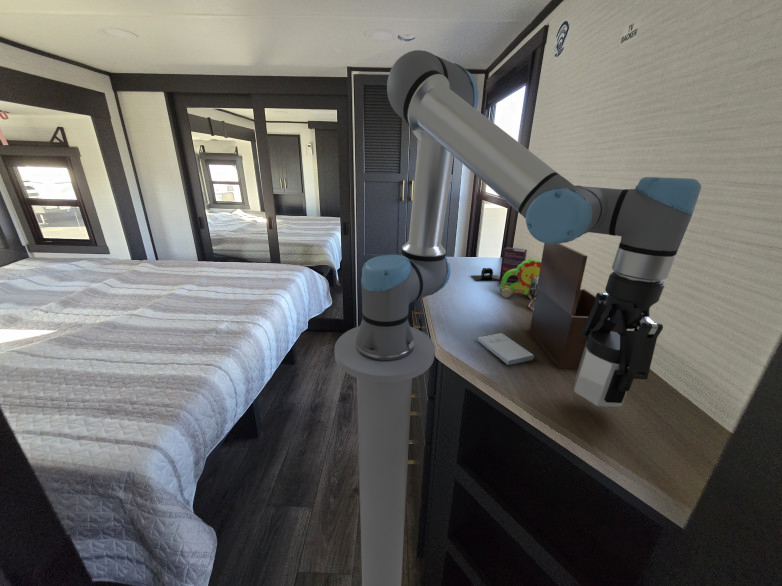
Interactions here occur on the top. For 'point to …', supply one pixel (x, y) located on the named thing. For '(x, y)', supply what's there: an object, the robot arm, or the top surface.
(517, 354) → the hard drive
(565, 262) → the lid
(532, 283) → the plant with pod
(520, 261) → the supplement box
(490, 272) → the build plate
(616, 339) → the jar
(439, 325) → the top surface
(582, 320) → the chest
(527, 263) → the toy lion
